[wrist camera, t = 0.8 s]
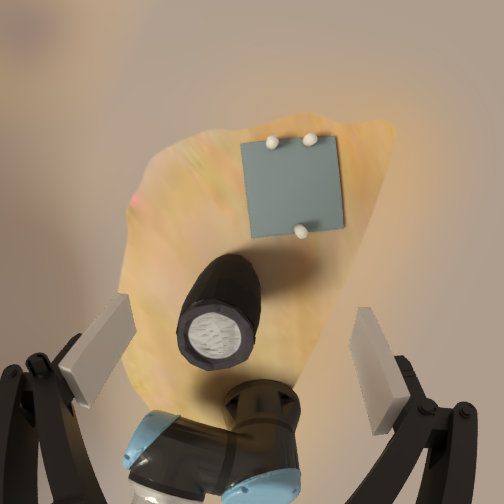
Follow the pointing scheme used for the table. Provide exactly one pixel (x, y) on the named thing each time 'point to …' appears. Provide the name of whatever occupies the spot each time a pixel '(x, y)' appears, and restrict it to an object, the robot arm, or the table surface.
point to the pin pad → (292, 186)
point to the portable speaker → (220, 315)
